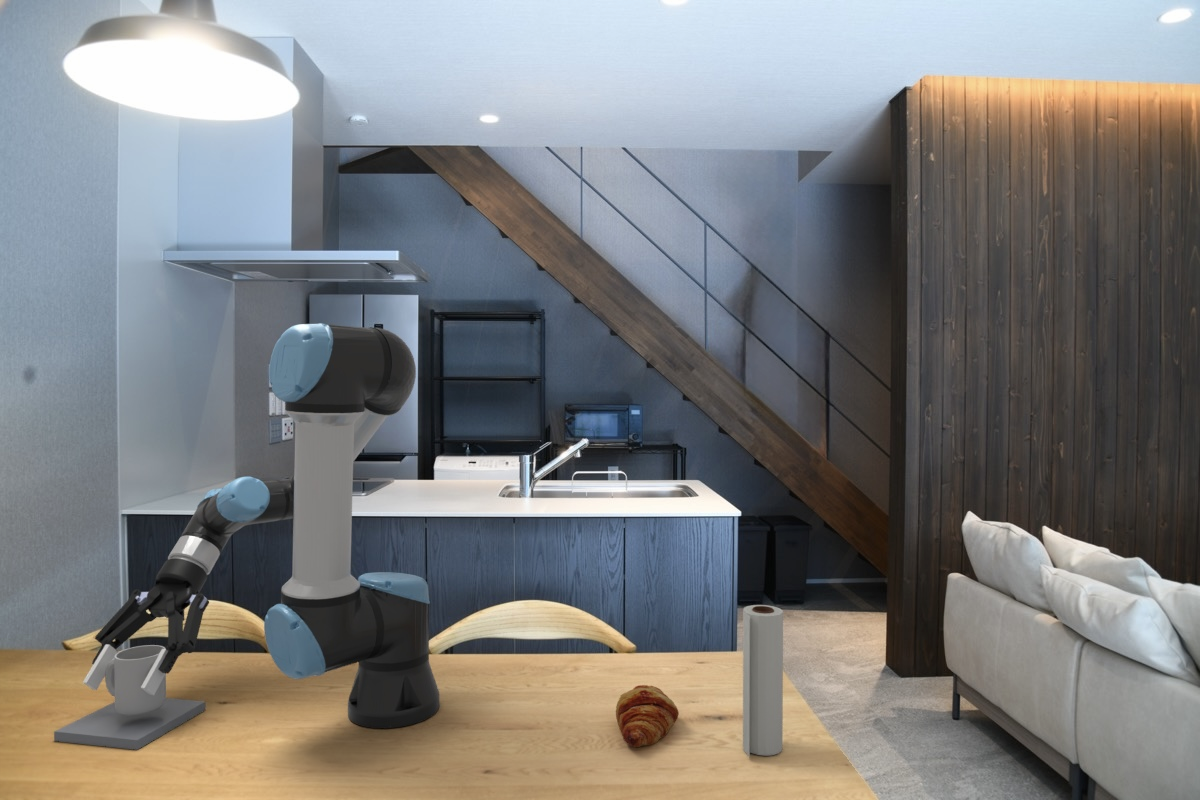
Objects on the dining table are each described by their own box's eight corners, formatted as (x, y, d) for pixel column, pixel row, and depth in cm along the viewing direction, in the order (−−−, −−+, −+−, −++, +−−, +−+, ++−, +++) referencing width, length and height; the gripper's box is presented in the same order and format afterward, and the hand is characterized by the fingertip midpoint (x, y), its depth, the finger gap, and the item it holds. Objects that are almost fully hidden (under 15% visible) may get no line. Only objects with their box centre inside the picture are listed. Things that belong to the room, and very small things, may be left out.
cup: (143, 717, 124) (142, 661, 124) (88, 712, 126) (88, 657, 126) (176, 699, 131) (175, 646, 131) (124, 695, 133) (123, 642, 133)
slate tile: (205, 710, 134) (205, 701, 134) (137, 750, 120) (137, 740, 120) (129, 703, 137) (129, 694, 137) (54, 741, 123) (54, 731, 123)
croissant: (639, 720, 139) (618, 678, 140) (689, 697, 137) (668, 655, 138) (617, 775, 118) (593, 726, 119) (677, 749, 117) (652, 699, 117)
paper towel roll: (768, 736, 124) (769, 601, 124) (790, 753, 119) (791, 612, 118) (728, 743, 122) (728, 606, 122) (748, 761, 116) (749, 617, 116)
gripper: (253, 582, 141) (192, 704, 126) (144, 575, 146) (72, 693, 130) (234, 559, 136) (167, 683, 121) (121, 553, 140) (43, 672, 125)
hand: (118, 688), depth 126 cm, fingers closed on cup, 10 cm apart
